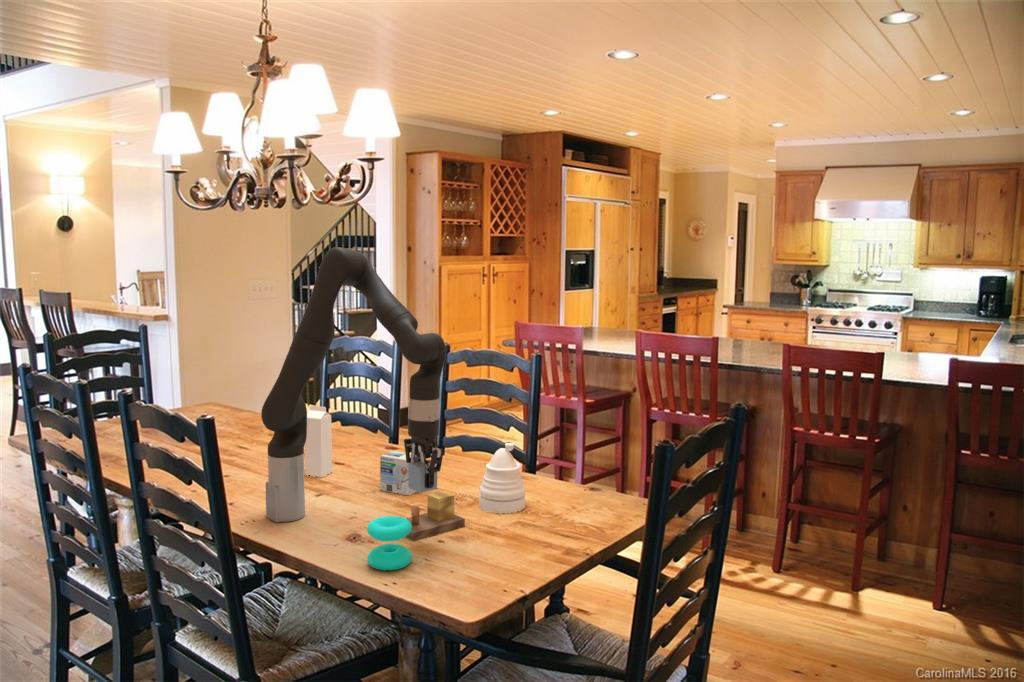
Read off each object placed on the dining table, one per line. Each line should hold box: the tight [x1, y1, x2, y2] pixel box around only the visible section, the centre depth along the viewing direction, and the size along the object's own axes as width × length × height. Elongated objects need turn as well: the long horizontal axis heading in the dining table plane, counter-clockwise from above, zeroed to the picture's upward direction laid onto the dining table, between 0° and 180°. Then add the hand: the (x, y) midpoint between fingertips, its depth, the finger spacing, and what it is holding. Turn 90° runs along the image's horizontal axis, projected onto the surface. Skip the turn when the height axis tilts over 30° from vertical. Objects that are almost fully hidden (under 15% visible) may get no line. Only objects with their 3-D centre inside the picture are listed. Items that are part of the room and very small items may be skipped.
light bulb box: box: [379, 450, 418, 496], centre depth 232 cm, size 11×7×11 cm, turn 62°
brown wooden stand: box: [405, 490, 466, 542], centre depth 201 cm, size 16×10×8 cm, turn 131°
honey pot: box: [478, 442, 526, 514], centre depth 218 cm, size 13×13×18 cm
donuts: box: [366, 515, 413, 571], centre depth 178 cm, size 10×10×10 cm
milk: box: [304, 405, 333, 478], centre depth 246 cm, size 6×6×22 cm
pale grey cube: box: [408, 461, 438, 494], centre depth 190 cm, size 5×5×6 cm
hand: (422, 484), depth 190 cm, fingers closed on pale grey cube, 5 cm apart
